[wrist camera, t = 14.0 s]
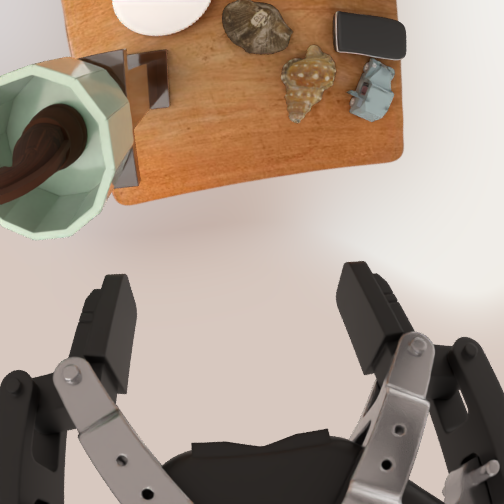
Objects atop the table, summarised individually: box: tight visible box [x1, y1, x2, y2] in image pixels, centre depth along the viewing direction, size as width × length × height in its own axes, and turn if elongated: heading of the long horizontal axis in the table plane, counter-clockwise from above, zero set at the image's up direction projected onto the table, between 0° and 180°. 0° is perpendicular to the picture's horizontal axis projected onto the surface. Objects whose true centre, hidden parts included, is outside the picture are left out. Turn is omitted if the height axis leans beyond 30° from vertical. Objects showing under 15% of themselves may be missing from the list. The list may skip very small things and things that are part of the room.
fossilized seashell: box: [222, 0, 293, 54], centre depth 36 cm, size 8×7×10 cm
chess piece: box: [0, 104, 87, 205], centre depth 14 cm, size 5×5×10 cm
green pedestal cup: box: [0, 49, 170, 240], centre depth 27 cm, size 11×11×34 cm
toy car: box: [346, 58, 395, 122], centre depth 43 cm, size 6×10×5 cm, turn 163°
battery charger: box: [333, 11, 406, 60], centre depth 38 cm, size 7×4×11 cm
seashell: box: [281, 45, 336, 123], centre depth 42 cm, size 9×8×10 cm
